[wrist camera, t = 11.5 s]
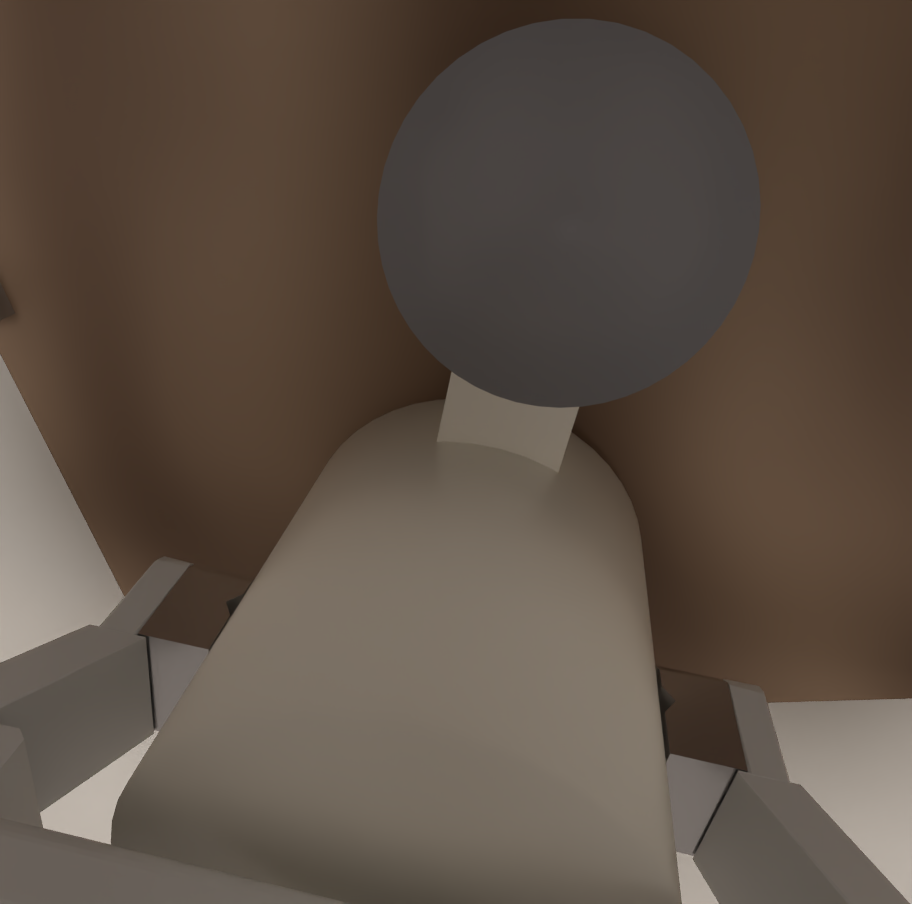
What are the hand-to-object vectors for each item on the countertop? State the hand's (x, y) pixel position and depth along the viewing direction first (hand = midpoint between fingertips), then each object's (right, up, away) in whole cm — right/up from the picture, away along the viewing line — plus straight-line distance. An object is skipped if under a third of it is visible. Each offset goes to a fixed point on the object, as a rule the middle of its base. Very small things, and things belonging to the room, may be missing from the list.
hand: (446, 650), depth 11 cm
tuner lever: (+1, +3, +1) cm, 4 cm away
